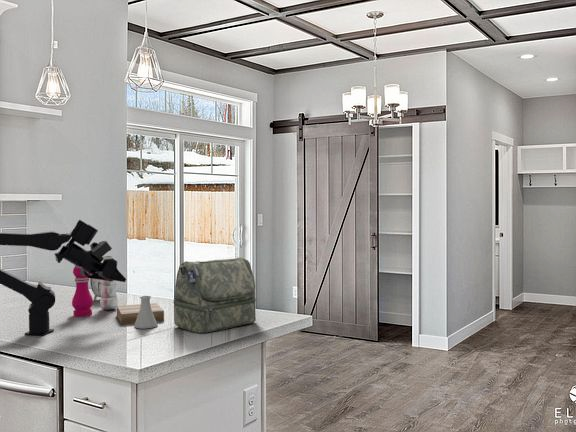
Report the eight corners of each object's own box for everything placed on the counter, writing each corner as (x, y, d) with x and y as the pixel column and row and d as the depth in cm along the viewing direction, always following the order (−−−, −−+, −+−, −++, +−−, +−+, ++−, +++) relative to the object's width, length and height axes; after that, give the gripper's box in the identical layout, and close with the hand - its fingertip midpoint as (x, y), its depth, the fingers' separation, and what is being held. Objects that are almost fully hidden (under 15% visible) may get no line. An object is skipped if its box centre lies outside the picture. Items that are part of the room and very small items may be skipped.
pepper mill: (86, 317, 216) (85, 260, 215) (68, 316, 218) (66, 260, 217) (97, 313, 223) (96, 258, 223) (78, 313, 225) (77, 258, 224)
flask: (148, 323, 205) (147, 293, 204) (162, 326, 200) (161, 295, 200) (129, 327, 199) (129, 296, 199) (143, 330, 194) (143, 298, 194)
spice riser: (164, 321, 209) (163, 310, 208) (121, 324, 204) (121, 313, 203) (156, 312, 224) (156, 303, 223) (116, 315, 219) (116, 306, 218)
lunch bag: (197, 336, 185) (196, 264, 184) (165, 327, 198) (164, 260, 198) (263, 323, 203) (263, 257, 202) (230, 316, 216) (229, 254, 215)
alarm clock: (90, 299, 254) (89, 263, 254) (104, 297, 259) (103, 261, 259) (105, 302, 246) (105, 265, 246) (120, 300, 252) (119, 263, 251)
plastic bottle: (99, 311, 226) (98, 257, 226) (100, 308, 233) (99, 255, 232) (118, 310, 228) (116, 257, 228) (118, 307, 235) (116, 255, 234)
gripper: (104, 234, 192) (143, 259, 200) (80, 236, 206) (118, 259, 214) (86, 265, 188) (127, 289, 196) (63, 265, 202) (103, 287, 210)
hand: (119, 280), depth 204 cm, fingers open, 9 cm apart
